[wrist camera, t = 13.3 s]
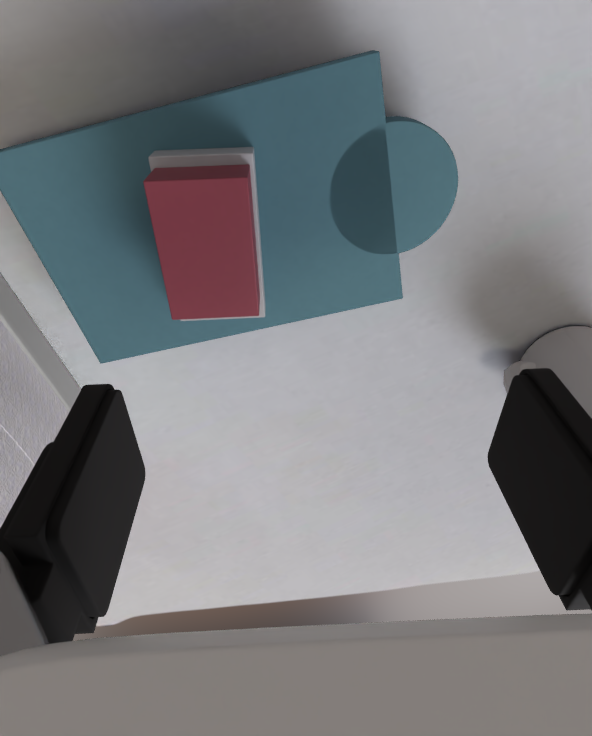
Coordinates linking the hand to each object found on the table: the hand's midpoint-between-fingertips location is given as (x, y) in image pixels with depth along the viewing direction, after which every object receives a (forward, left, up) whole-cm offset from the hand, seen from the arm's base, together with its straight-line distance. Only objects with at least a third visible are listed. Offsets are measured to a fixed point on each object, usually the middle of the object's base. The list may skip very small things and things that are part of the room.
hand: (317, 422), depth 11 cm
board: (-1, -3, -21) cm, 21 cm away
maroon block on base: (-1, -4, -17) cm, 18 cm away
